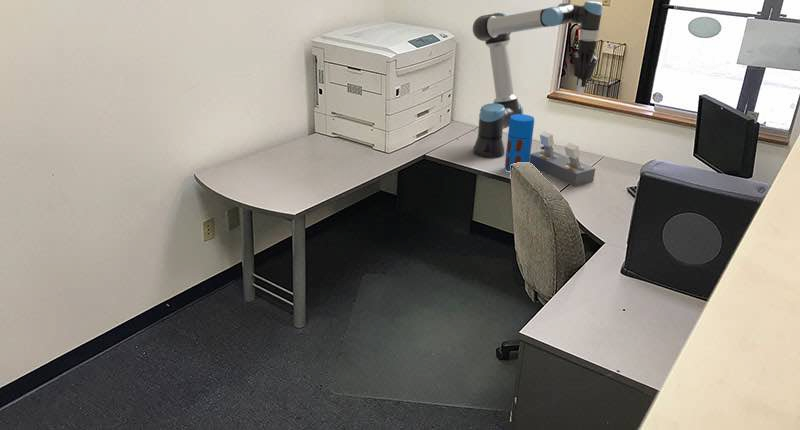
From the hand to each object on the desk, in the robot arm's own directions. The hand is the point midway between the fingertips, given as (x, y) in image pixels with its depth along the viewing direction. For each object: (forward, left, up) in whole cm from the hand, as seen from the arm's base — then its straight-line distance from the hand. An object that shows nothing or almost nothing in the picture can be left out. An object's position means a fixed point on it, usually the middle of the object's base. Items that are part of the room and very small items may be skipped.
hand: (579, 93), depth 279 cm
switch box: (+5, -11, -34) cm, 36 cm away
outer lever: (+13, -11, -28) cm, 33 cm away
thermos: (-8, -26, -35) cm, 44 cm away
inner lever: (-3, -11, -28) cm, 31 cm away
